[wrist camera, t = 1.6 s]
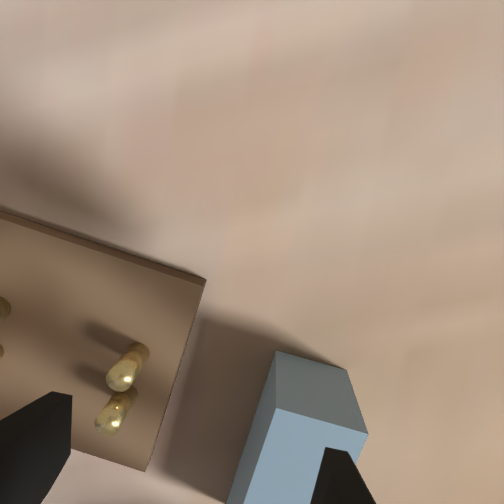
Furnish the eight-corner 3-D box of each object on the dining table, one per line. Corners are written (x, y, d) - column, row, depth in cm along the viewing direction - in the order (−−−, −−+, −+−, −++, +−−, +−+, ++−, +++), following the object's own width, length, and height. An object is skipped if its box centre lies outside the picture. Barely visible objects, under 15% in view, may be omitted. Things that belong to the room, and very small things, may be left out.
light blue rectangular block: (287, 518, 23) (291, 615, 18) (226, 501, 23) (212, 593, 18) (346, 368, 20) (368, 434, 15) (276, 348, 20) (276, 408, 15)
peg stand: (150, 458, 22) (127, 512, 19) (-41, 396, 22) (-99, 439, 18) (206, 279, 19) (191, 305, 16) (-14, 206, 19) (-77, 216, 16)
